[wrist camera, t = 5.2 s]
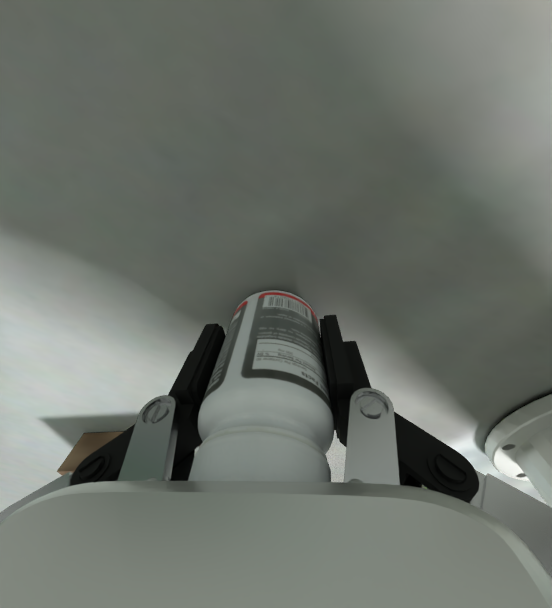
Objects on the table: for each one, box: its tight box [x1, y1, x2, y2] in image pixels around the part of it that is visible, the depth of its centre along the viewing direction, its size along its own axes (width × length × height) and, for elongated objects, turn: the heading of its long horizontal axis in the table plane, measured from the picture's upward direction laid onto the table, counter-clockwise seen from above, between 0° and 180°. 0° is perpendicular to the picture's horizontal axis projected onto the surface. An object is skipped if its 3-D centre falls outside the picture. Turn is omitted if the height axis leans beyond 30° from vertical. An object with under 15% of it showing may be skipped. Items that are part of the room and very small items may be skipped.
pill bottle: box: [188, 290, 334, 482], centre depth 10 cm, size 5×5×8 cm
